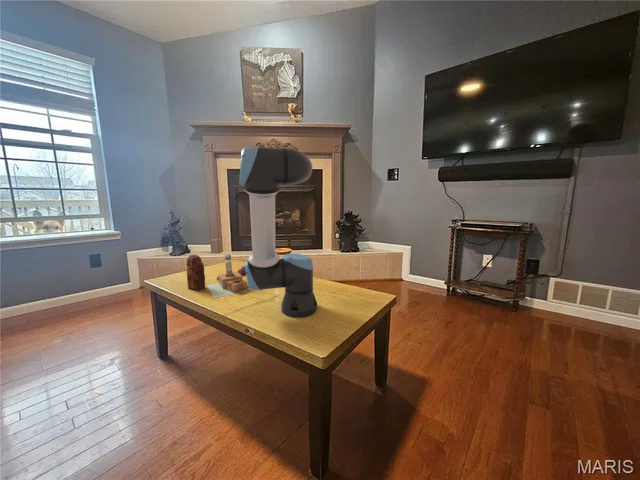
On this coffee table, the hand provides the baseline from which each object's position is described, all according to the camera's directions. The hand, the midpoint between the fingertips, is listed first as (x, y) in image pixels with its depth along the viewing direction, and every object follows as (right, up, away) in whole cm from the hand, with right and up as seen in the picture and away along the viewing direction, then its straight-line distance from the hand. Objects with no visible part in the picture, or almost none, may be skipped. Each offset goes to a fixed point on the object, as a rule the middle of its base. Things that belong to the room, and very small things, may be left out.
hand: (261, 235), depth 135 cm
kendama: (-19, -25, +15) cm, 35 cm away
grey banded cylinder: (-16, -26, +1) cm, 31 cm away
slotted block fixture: (-17, -28, -3) cm, 33 cm away
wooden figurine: (-32, -28, -3) cm, 43 cm away
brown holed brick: (-11, -27, -6) cm, 30 cm away
